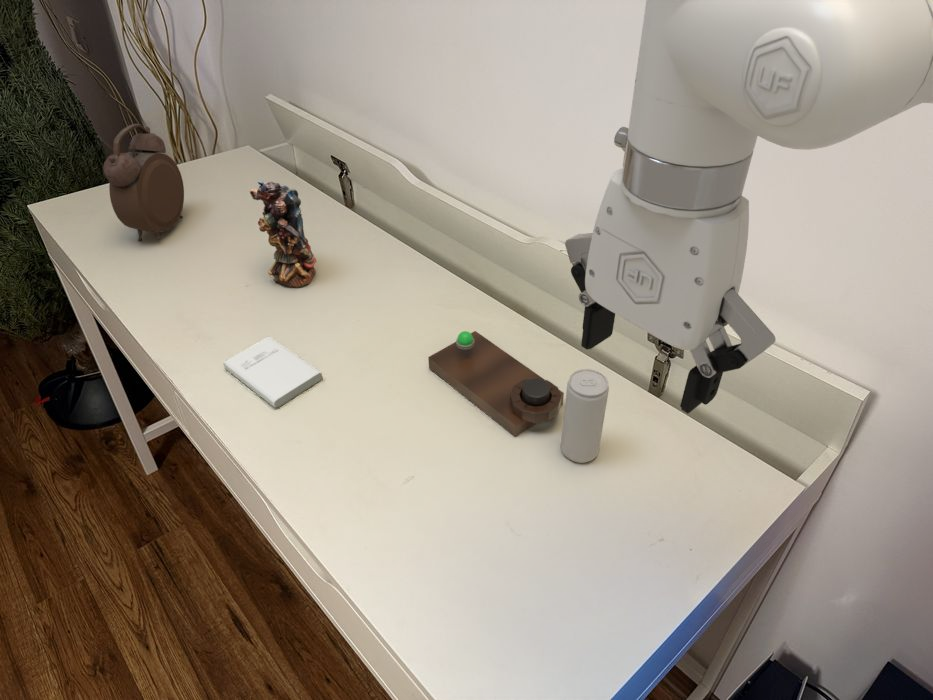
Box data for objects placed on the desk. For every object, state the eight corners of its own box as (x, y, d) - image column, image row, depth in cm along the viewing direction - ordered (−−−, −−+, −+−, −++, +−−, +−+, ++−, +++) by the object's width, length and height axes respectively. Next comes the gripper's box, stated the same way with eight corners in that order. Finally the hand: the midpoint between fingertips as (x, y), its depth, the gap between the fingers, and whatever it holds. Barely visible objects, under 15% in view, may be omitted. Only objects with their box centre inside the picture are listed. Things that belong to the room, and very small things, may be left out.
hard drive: (275, 410, 95) (225, 369, 101) (323, 379, 99) (272, 342, 106) (273, 401, 94) (222, 361, 100) (321, 371, 98) (269, 334, 105)
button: (555, 397, 91) (556, 388, 90) (535, 411, 89) (536, 401, 88) (535, 383, 93) (536, 374, 92) (516, 396, 91) (516, 386, 90)
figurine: (248, 291, 116) (222, 194, 105) (268, 262, 123) (246, 167, 111) (310, 297, 115) (290, 198, 103) (327, 266, 122) (310, 171, 110)
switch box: (575, 413, 93) (577, 391, 91) (527, 446, 89) (528, 425, 86) (475, 341, 105) (475, 321, 103) (428, 368, 101) (427, 347, 98)
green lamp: (478, 345, 99) (478, 333, 97) (464, 353, 97) (464, 341, 96) (466, 336, 100) (466, 324, 99) (452, 344, 99) (452, 332, 98)
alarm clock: (162, 210, 138) (129, 111, 125) (196, 213, 137) (165, 113, 124) (120, 248, 127) (79, 144, 114) (156, 252, 126) (119, 147, 113)
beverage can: (600, 465, 87) (612, 396, 79) (562, 465, 87) (569, 396, 79) (595, 436, 90) (606, 367, 82) (558, 436, 90) (565, 367, 83)
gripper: (543, 143, 47) (531, 339, 58) (778, 244, 37) (709, 457, 48) (615, 114, 51) (591, 303, 62) (846, 198, 41) (768, 406, 52)
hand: (643, 370), depth 55 cm, fingers open, 9 cm apart
